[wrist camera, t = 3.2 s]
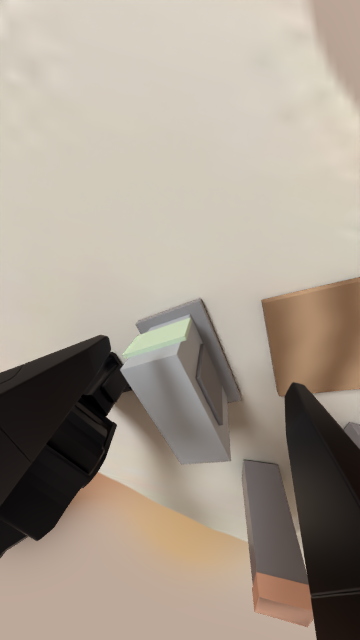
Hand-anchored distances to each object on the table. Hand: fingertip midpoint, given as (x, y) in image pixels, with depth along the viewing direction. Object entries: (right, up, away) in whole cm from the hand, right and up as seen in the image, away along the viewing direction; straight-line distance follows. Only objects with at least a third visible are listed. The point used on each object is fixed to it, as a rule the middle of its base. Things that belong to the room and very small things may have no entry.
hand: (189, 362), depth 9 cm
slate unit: (+1, -3, +14) cm, 15 cm away
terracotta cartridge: (+12, -22, +21) cm, 33 cm away
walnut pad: (+15, 0, +10) cm, 18 cm away
